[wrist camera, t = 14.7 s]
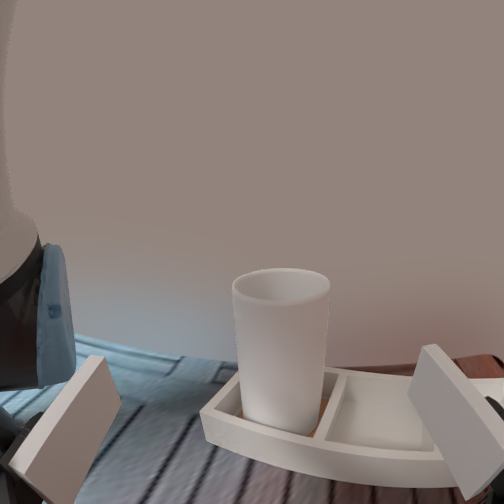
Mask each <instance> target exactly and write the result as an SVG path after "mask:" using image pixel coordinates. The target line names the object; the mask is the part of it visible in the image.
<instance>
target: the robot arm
mask: <svg viewBox="0 0 504 504" xmlns="http://www.w3.org/2000/svg"><path fill="white" fill-rule="evenodd" d="M17 2H18V0H0V392H4V391H17V390H28V389H38V388H39V389H44V387H45V386H49V385H54V384H59V383H63V382H66V381H68V380H69V382H68V383H67V384H66V386H65V387H64V388H63V389H62V391H61V392H60V393H59V394H58V396H57V397H56V398H55V400H54V401H53V402H52V404H51V405H50V406H49V408H48V409H47V410H46V412H45V413H43V412H39V413H38V414H36V415H35V416H33V417H32V418H31V419H30V420H29V421H28V423H27V424H26V425H25V428H24V429H22V431H21V429H20V428H19V426H18V425H17V423H16V421H15V420H14V419H13V417H12V416H11V415H10V414H9V413H8V412H7V411H6V410H5V409H4V408H3V407H2V406H1V405H0V504H41V503H42V502H43V500H44V501H45V502H46V503H47V504H73V503H74V501H75V499H76V497H77V495H78V492H79V490H80V488H81V486H82V484H83V482H84V479H85V477H86V475H87V473H88V471H89V469H90V467H91V465H92V463H93V461H94V459H95V457H96V454H97V452H98V450H99V448H100V446H101V444H102V442H103V440H104V438H105V436H106V434H107V432H108V430H109V428H110V427H111V425H112V423H113V421H114V419H115V417H116V415H117V413H118V411H119V409H120V407H121V405H122V402H121V399H120V397H119V394H118V392H117V389H116V387H115V384H114V381H113V379H112V376H111V373H110V370H109V368H108V365H107V362H106V359H105V357H103V356H96V355H90V356H89V357H88V358H87V359H86V361H85V362H84V363H83V364H82V366H81V367H80V368H79V369H78V370H77V372H76V373H75V369H76V349H75V339H74V331H73V323H72V315H71V306H70V298H69V289H68V281H67V273H66V265H65V258H64V255H63V252H62V248H61V247H60V246H58V245H52V244H49V243H47V244H46V245H44V246H43V247H42V246H41V244H40V240H39V236H38V231H37V227H36V224H35V222H34V220H33V219H32V218H31V217H30V216H28V215H27V214H25V213H23V212H21V211H19V210H18V209H16V208H15V207H14V205H13V199H12V194H11V188H10V182H9V175H8V166H7V158H6V146H5V129H4V90H5V73H6V63H7V53H8V46H9V40H10V34H11V28H12V23H13V19H14V14H15V9H16V6H17ZM74 373H75V374H74ZM72 376H73V377H72ZM407 396H408V397H409V399H410V401H411V402H412V404H413V406H414V407H415V409H416V411H417V412H418V414H419V416H420V417H421V419H422V421H423V422H424V424H425V426H426V428H427V429H428V431H429V433H430V435H431V436H432V438H433V440H434V442H435V443H436V445H437V447H438V449H439V451H440V453H441V454H442V456H443V458H444V460H445V462H446V464H447V465H448V467H449V469H450V471H451V473H452V475H453V477H454V479H455V481H456V483H457V485H458V487H459V489H460V491H461V493H462V495H463V497H464V499H465V501H467V500H469V499H471V498H472V497H474V496H476V495H477V494H479V493H481V492H482V491H483V490H484V489H485V488H486V487H487V486H488V485H489V484H490V485H491V488H490V489H489V490H488V491H487V492H486V493H485V494H484V495H483V496H482V497H481V498H480V499H479V501H478V503H477V504H480V503H481V502H482V501H483V500H484V499H486V498H487V499H486V500H485V502H484V503H483V504H504V409H503V407H502V406H501V405H500V404H499V403H498V402H497V401H496V400H494V399H493V398H491V397H489V396H486V397H483V395H482V394H481V393H480V392H479V391H478V389H477V388H476V387H475V386H474V385H473V384H472V383H471V381H470V380H469V379H468V378H467V377H466V376H465V375H464V373H463V372H462V371H461V370H460V369H459V368H458V367H457V366H456V365H455V363H454V362H453V361H452V360H451V359H450V358H449V357H448V356H447V355H446V354H445V353H444V352H443V350H442V349H441V348H440V347H439V346H438V345H437V344H431V345H426V346H423V347H422V349H421V352H420V356H419V359H418V362H417V365H416V369H415V372H414V375H413V378H412V381H411V384H410V386H409V389H408V392H407Z"/></svg>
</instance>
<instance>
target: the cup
mask: <svg viewBox="0 0 504 504" xmlns="http://www.w3.org/2000/svg"><path fill="white" fill-rule="evenodd" d="M232 298H233V312H234V324H235V336H236V346H237V358H238V369H239V379H240V390H241V400H242V409H243V419H244V420H247V421H250V422H253V423H257V424H260V425H263V426H267V427H270V428H274V429H278V430H281V431H285V432H289V433H293V434H297V435H302V436H308V435H309V434H310V433H311V432H312V431H313V430H314V429H315V427H316V425H317V423H318V419H319V412H320V404H321V396H322V388H323V379H324V370H325V360H326V349H327V337H328V323H329V306H330V281H329V279H328V278H326V277H325V276H324V275H322V274H320V273H317V272H313V271H309V270H304V269H294V268H276V269H275V268H274V269H265V270H259V271H254V272H250V273H247V274H244V275H242V276H240V277H238V278H237V279H236V280H234V282H233V284H232Z"/></svg>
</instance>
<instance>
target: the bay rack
mask: <svg viewBox="0 0 504 504" xmlns="http://www.w3.org/2000/svg"><path fill="white" fill-rule="evenodd" d="M412 378H413V377H411V376H399V375H388V374H378V373H369V372H361V371H353V370H346V369H339V368H332V367H326V366H325V370H324V379H323V388H322V396H321V404H320V412H319V419H318V423H317V425H316V427H315V429H314V430H313V431H312V432H311V433H310V434H309V435H308V436H302V435H297V434H293V433H289V432H285V431H281V430H278V429H274V428H270V427H267V426H263V425H260V424H257V423H253V422H250V421H247V420H244V419H243V409H242V400H241V390H240V379H239V370H238V371H237V372H236V374H235V375H234V376H233V377H232V378H231V379H230V380H229V381H228V382H227V383H226V384H225V385H224V386H223V387H222V388H221V390H220V391H219V392H218V393H217V394H216V395H215V396H214V397H213V398H212V399H211V400H210V401H209V402H208V403H207V404H206V405H205V406H204V407H203V408H202V409H201V410H200V411H199V413H200V417H201V421H202V425H203V429H204V433H205V437H206V441H207V442H209V443H212V444H214V445H217V446H219V447H222V448H224V449H227V450H229V451H232V452H235V453H237V454H240V455H243V456H246V457H249V458H252V459H255V460H258V461H261V462H264V463H267V464H270V465H274V466H277V467H281V468H284V469H288V470H292V471H296V472H300V473H304V474H308V475H312V476H317V477H322V478H327V479H332V480H338V481H344V482H350V483H357V484H365V485H374V486H385V487H402V488H445V487H458V485H457V483H456V481H455V479H454V477H453V475H452V473H451V471H450V469H449V467H448V465H447V464H446V462H445V460H444V458H443V456H442V454H441V453H440V451H439V449H438V447H437V445H436V443H435V442H434V440H433V438H432V436H431V435H430V433H429V431H428V429H427V428H426V426H425V424H424V422H423V421H422V419H421V417H420V416H419V414H418V412H417V411H416V409H415V407H414V406H413V404H412V402H411V401H410V399H409V397H408V396H407V392H408V389H409V386H410V384H411V381H412ZM469 380H470V381H471V383H472V384H473V385H474V386H475V387H476V388H477V389H478V391H479V392H480V393H481V394H482V395H483V397H486V396H489V397H491V398H493V399H494V400H496V401H497V402H498V403H499V404H500V405H501V406H502V407H503V409H504V378H491V379H469Z"/></svg>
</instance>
